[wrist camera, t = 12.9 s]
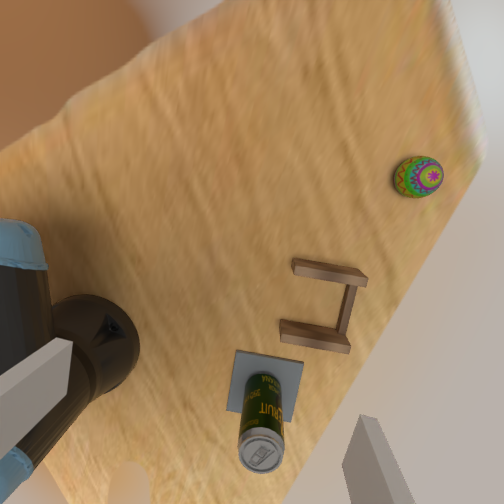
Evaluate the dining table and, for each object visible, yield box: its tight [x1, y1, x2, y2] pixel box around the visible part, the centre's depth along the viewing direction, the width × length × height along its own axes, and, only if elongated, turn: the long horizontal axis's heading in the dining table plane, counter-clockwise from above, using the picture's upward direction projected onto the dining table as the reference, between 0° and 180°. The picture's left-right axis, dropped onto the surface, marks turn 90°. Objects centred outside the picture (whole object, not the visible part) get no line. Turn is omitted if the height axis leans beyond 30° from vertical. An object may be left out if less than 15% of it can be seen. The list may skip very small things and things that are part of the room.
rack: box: [279, 258, 368, 354], centre depth 41 cm, size 9×10×4 cm
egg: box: [394, 156, 444, 198], centre depth 36 cm, size 5×5×6 cm
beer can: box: [237, 372, 285, 474], centre depth 40 cm, size 5×5×12 cm
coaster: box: [226, 350, 304, 423], centre depth 46 cm, size 10×10×1 cm
